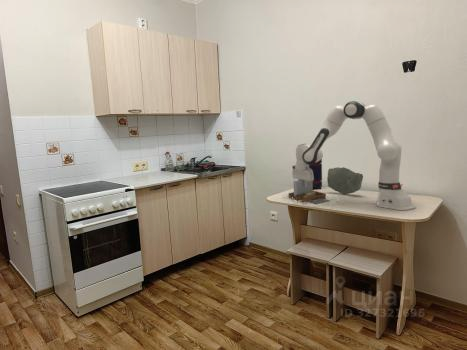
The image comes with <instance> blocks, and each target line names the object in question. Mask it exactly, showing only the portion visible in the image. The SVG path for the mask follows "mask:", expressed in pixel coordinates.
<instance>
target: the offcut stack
mask: <svg viewBox="0 0 467 350" xmlns="http://www.w3.org/2000/svg"><path fill="white" fill-rule="evenodd" d="M312 196H315V192H308V193H305V195H302V198H306V197H312Z"/></svg>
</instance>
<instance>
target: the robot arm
mask: <svg viewBox="0 0 467 350" xmlns="http://www.w3.org/2000/svg"><path fill="white" fill-rule="evenodd" d="M347 119H352V120H360V119H363V120H364V122H365V124H366V126H367V128H368V130H369V134H370V135H371V137H372V140H373V143H374V146H375V150H376V152H377V156H378V158H379V159H380V166H379V172H378V173H379V177H378V180H379V181H378V186H377V187H378V192H377V194H378V195H377V198H376V203H375V205H376V207H379V208H384V209H390V210H396V211H410V210H413V209H416V208H417V206H416V204H412V198H411V196H410V195H409V194H408V193H407V192H405V190H404V189H402V187H403V185H404V184H401V182H400V167H401V160H402V159H401V158H402V146H401V144H400V143H399V142H397V141H396V140H395V139H394V137H393V132H392V128H391V127H390V125H389V123H388V120H387V118H386V116H385V115H384V113H383V111H382V109H381V108H380V107H379V105H377V104H374V103H373V104H369V105H367V106H366V105H365V103H362V102H360V101H357V100H355V101H354V100H351V101H348V102H346V104H345V105H335V106H333V108H332V109H331V110H330V112H329V113H328V115H327V116H326V117H325V120H324V122H323V123H322V126H321V127H320V130H319V132H318V134H317V135H316V137H315V138H314V140H313V142H312V143H311V144H310V145H309V143H301V144H298V145H296V148H295V159H296V162H295V164H294V165H292V166H291V169H292V178H293V179H294V180H297V181H298V180H304V182H305V184H304V187H307V183H308V181H313V180H314V175H313V171H312V169H311V168H309V165H312V164H314V163H316V162H318V161H320V160H321V159H323V156H324V155H323V152H322V150H321V149H322V147H323V146H324V144H325V143H326V141H327V140H328V139H329V138H331V137H333V136H334V135H336V134H337V133H338V132H339V130H340V129H341V127H342V126H343V124H344V122H345V121H346V120H347Z"/></svg>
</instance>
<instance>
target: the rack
mask: <svg viewBox="0 0 467 350" xmlns="http://www.w3.org/2000/svg"><path fill="white" fill-rule="evenodd" d="M313 192H315V196H312V197H306V198H302V195H305V193H304V194H298V195H295V197H294V191H293V192H288V199H293V198H292V197H294V198H295V199H294V200H295V201H299V200H301V203H306V202H309V201H314V200H320V199H327V196H326V195H327V194H326V193H325V192H321V191H317V190H314V189H313Z"/></svg>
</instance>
